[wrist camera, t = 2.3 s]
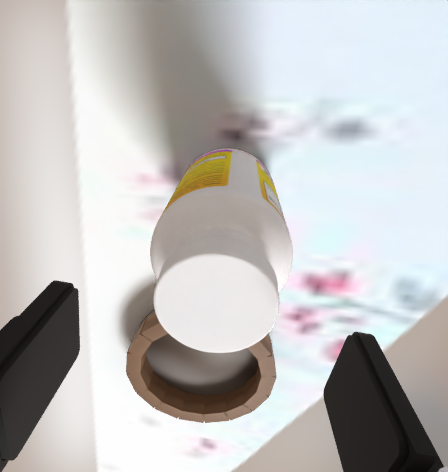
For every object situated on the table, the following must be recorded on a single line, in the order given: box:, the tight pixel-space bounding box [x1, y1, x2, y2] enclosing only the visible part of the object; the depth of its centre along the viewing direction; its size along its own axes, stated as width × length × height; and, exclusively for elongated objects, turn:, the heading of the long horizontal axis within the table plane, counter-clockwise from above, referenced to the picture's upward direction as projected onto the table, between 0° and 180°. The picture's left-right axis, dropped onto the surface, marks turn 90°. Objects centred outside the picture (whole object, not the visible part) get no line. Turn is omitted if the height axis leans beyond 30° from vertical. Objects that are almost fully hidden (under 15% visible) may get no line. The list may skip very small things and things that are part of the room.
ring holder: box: [126, 310, 276, 423], centre depth 29 cm, size 13×13×3 cm
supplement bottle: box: [150, 148, 293, 353], centre depth 17 cm, size 7×7×13 cm
